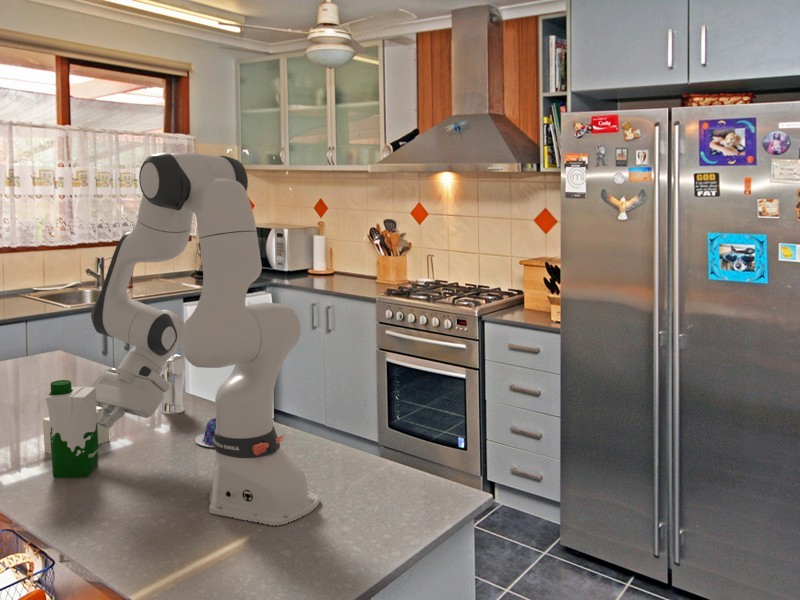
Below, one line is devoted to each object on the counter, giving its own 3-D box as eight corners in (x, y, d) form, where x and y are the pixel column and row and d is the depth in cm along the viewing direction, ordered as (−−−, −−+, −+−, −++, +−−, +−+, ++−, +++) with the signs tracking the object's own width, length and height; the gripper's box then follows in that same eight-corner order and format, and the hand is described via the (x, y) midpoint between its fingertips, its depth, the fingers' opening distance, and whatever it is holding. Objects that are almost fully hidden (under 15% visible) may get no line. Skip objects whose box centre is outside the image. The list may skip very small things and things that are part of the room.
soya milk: (62, 464, 165) (57, 377, 162) (104, 463, 166) (99, 376, 162) (46, 480, 156) (41, 388, 153) (91, 479, 157) (86, 388, 154)
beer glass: (154, 414, 201) (152, 360, 198) (166, 406, 207) (164, 354, 205) (178, 415, 199) (176, 361, 197) (190, 408, 206) (188, 355, 204)
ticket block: (110, 441, 180) (108, 408, 178) (61, 457, 169) (59, 422, 167) (93, 436, 183) (91, 403, 182) (44, 451, 172) (42, 417, 171)
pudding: (210, 453, 174) (210, 432, 173) (186, 440, 182) (185, 419, 181) (254, 442, 182) (254, 421, 181) (229, 429, 190) (228, 410, 190)
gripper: (99, 359, 175) (64, 410, 169) (159, 372, 165) (124, 427, 158) (116, 374, 180) (82, 423, 173) (175, 387, 169) (142, 441, 163)
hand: (103, 425), depth 166 cm, fingers closed
